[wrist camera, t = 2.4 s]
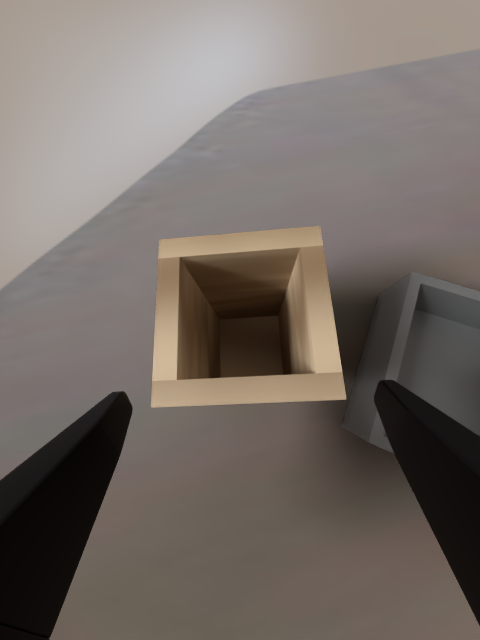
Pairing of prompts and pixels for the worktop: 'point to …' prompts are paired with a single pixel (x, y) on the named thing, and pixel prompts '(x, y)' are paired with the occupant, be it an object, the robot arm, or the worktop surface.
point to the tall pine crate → (245, 320)
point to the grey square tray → (420, 353)
